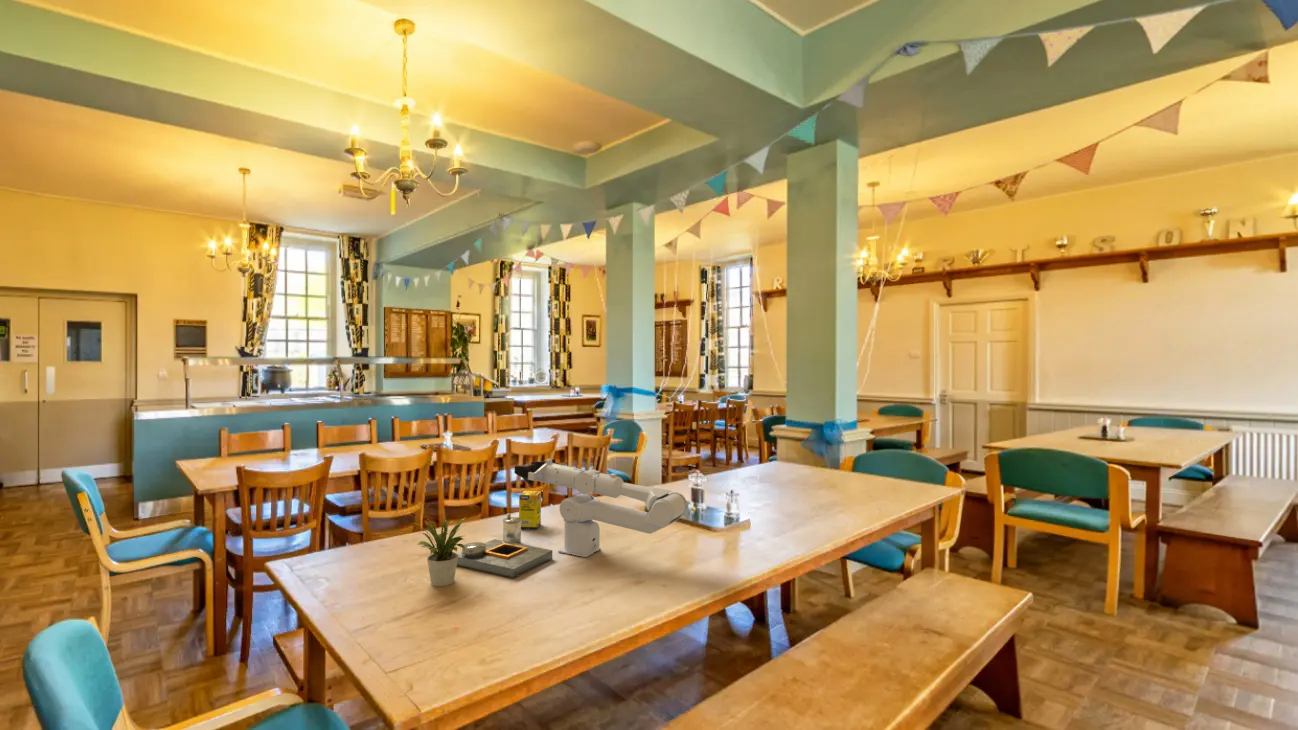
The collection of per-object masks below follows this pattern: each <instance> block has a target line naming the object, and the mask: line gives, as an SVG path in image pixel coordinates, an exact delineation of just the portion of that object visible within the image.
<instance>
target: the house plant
mask: <svg viewBox="0 0 1298 730" xmlns="http://www.w3.org/2000/svg"><path fill="white" fill-rule="evenodd" d="M446 517H447V514H445V515H444V517H443V520H442V522H441V523H442V525H441V530H440V531H441V532H440V533H439V534H438V532H437V530H436V529H437V528H436V526H435V524H434V522H433V520H430V519H429V518H427V521H426V520H424V524H425V525H426V526H427V528H424V527H423V526H422V525H421V524H419V523H415V522H413V524H416V525H418V526H420V527H421V528H422V531H425V532H426V533H425V532H420V533H418V535H419V534H423V535H424V536H425V537H426V538H427V539H428V541H429V542H430V543H429V542H427V541H423V540H422V541H419V542H418V543H417V545H418V546H419V545H421V546H420V548H423V549H424V548H427V549H429V551H430V554H429V555H427V557H426V560H427V566H428V572H429V578H430V584H431V585H432V586H433V587H445V586H449V585H452V584H453V583H454V581H455V577H456V570H457V567H458V566H457V560H458V547H460V548H461V549H462V548H463V549H464V548H465V546H464V544H463V543H459V542H461V541H462V540H465V539H464V538H463V537H464V535H460V536H455V535H456V533H457V532H458V531H459V530H460V529H461V528H462V527H465V526H467V525H468V524H464V525H462V526H461V524H462V523H463V521H465V519H467V516H466V517H463V518H461V519H460V520H459V521H458V522H457V523H456V524H455V526H454V527H453V528H452V529H451V530H450V531H449V529H448V528H449V527H448V526H450V524H452V522H453V520H452V521H450V522H449V523H448V521H447V518H446ZM428 521H429V522H430V523H431V524H432V525H431V524H430V523H429V522H428ZM448 532H449V533H448ZM429 533H430V534H431V535H432V536H431V535H430V534H429ZM447 535H448V536H447ZM432 537H433V538H434V539H433V538H432ZM457 546H458V547H457ZM453 550H454V551H453ZM464 551H465V550H464Z"/></svg>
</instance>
